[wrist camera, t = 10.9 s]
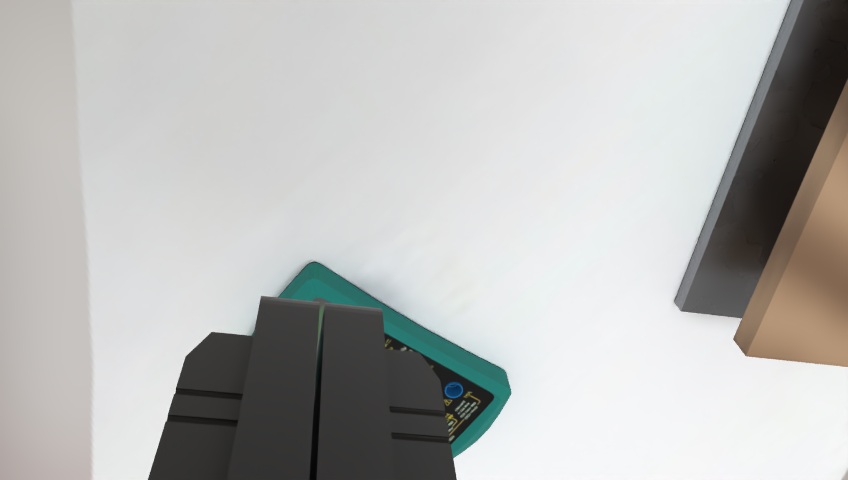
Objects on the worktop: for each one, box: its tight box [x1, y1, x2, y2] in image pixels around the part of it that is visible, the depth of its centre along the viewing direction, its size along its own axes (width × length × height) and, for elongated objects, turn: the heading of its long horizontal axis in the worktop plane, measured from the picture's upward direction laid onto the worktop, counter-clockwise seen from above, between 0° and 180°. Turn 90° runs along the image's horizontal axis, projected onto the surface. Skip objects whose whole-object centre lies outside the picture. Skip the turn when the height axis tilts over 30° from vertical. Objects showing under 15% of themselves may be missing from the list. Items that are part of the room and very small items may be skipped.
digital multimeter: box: [252, 263, 511, 458], centre depth 45 cm, size 7×15×3 cm, turn 53°
